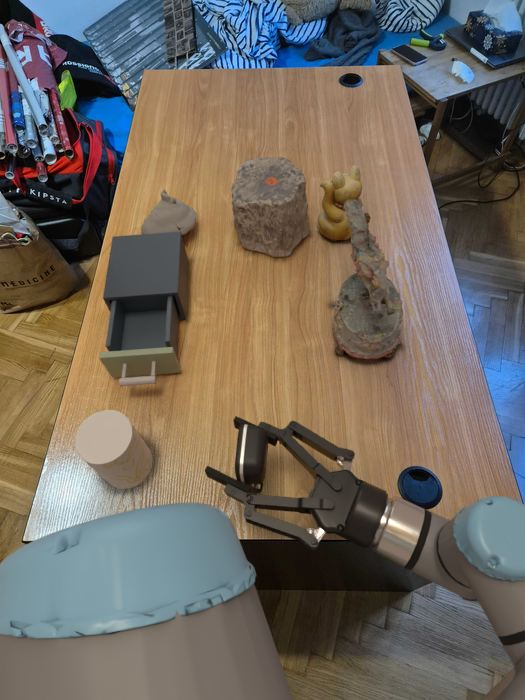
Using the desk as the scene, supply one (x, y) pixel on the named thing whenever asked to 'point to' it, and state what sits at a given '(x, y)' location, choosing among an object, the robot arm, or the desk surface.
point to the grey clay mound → (169, 217)
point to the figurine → (367, 297)
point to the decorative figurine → (339, 203)
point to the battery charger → (251, 457)
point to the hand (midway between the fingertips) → (221, 446)
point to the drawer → (142, 339)
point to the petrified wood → (270, 205)
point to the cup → (114, 449)
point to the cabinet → (148, 268)
